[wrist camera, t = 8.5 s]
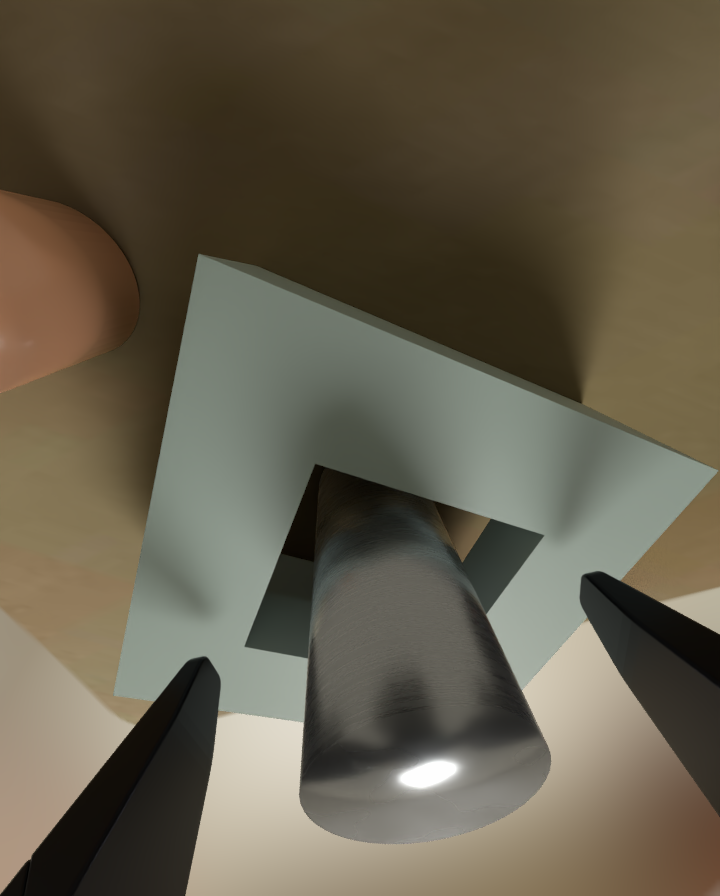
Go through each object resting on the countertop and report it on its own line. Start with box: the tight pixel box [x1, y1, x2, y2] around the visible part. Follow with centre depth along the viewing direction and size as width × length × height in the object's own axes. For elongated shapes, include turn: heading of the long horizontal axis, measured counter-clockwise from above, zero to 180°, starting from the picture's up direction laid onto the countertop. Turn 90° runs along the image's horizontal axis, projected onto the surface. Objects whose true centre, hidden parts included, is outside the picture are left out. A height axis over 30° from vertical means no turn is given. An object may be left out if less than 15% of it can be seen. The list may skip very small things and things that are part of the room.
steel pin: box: [299, 467, 551, 844], centre depth 10 cm, size 4×4×9 cm
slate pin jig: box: [113, 254, 718, 722], centre depth 12 cm, size 12×12×5 cm
